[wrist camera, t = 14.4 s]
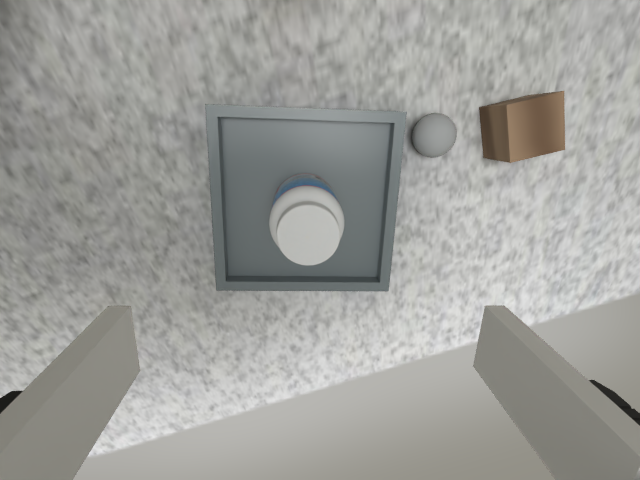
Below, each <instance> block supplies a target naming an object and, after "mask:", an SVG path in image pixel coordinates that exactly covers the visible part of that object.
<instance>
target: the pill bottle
mask: <svg viewBox="0 0 640 480" xmlns="http://www.w3.org/2000/svg"><path fill="white" fill-rule="evenodd" d="M269 227H270V232H271V235H272V238H273V240H274V242H275V243H276V244H277V246H278V247H279V248H280V250H281V251H282V253H283V254H284V255H285V256H286V257H287V258H288V259H289V260H291V261H292V262H294V263H297V264H300V265H316V264H320V263H322V262H324V261H326V260H327V259H329V258H330V257H331V256H332V255H333V254H334V252H335V251H336V249H337V247H338V245H339V241H340V239H341V237H342V234H343V231H344V215H343V211H342V209H341V206H340V204H339V202H338V200H337V198H336V196H335V194H334V192H333V190H332V189H331V187H330V186H329V184H328V183H327V182H326V181H325V180H324V179H322V178H321V177H319V176H317V175H314V174H310V173H301V174H297V175H294V176H292V177H290V178H288V179H287V180H285V181H284V182H283V183H282V184H281V185H280V186H279V188H278V190H277V192H276V194H275V197H274V201H273V205H272V209H271V213H270V219H269Z"/></svg>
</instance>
